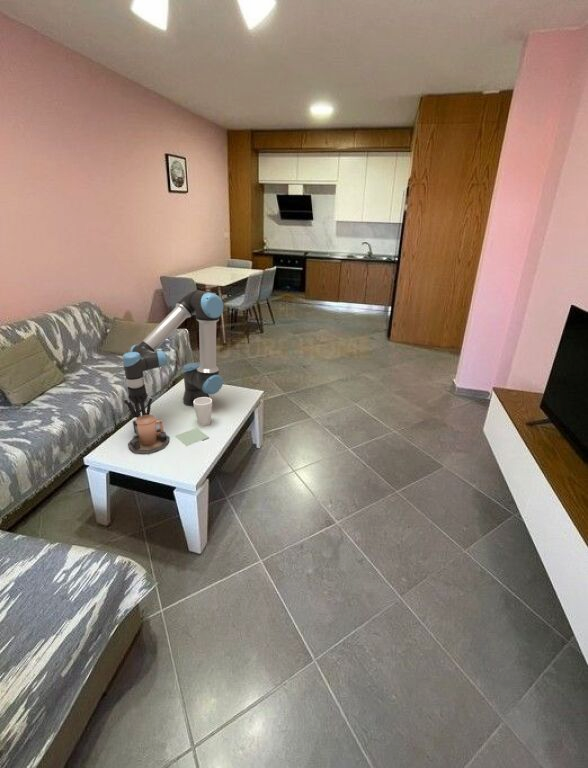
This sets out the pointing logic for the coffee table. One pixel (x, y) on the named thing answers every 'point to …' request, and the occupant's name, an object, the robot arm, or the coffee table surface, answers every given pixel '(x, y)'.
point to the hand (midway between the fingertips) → (143, 428)
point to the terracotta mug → (148, 429)
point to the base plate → (150, 447)
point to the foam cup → (203, 410)
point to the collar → (135, 443)
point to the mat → (192, 436)
